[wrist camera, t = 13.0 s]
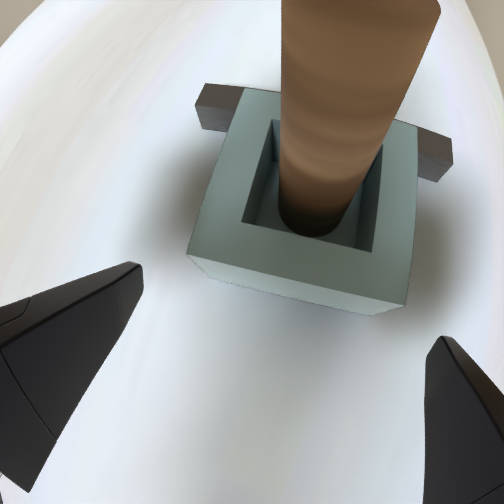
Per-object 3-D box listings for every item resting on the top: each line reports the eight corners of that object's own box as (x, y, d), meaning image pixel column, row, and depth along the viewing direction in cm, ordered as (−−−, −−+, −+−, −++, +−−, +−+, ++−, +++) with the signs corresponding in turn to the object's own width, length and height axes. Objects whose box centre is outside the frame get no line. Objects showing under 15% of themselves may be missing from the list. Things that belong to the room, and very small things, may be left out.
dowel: (347, 236, 17) (467, 39, 4) (279, 238, 17) (290, 12, 4) (339, 176, 18) (407, -34, 5) (276, 177, 18) (274, -49, 5)
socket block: (369, 315, 16) (405, 305, 12) (209, 277, 18) (185, 254, 13) (389, 172, 19) (417, 126, 14) (251, 141, 20) (244, 88, 15)
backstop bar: (436, 182, 18) (453, 164, 16) (202, 128, 20) (194, 105, 18) (436, 158, 19) (451, 138, 16) (211, 107, 21) (205, 83, 18)
